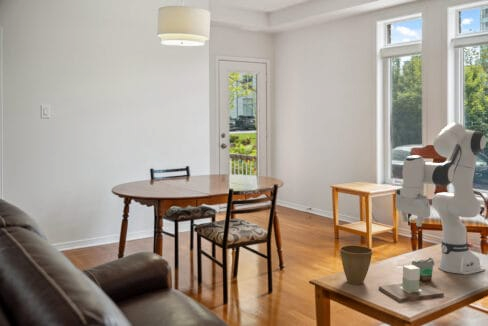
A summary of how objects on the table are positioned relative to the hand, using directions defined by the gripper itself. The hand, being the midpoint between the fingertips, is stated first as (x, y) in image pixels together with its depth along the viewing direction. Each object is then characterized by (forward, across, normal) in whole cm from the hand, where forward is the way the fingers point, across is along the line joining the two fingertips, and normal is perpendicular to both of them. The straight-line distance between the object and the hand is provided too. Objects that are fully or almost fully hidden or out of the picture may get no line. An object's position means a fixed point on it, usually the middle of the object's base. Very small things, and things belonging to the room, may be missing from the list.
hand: (412, 223), depth 208 cm
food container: (+31, +11, -16) cm, 37 cm away
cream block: (+24, 0, 0) cm, 24 cm away
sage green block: (+29, 0, 0) cm, 29 cm away
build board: (+31, 0, 0) cm, 31 cm away
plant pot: (+31, +20, +16) cm, 40 cm away
